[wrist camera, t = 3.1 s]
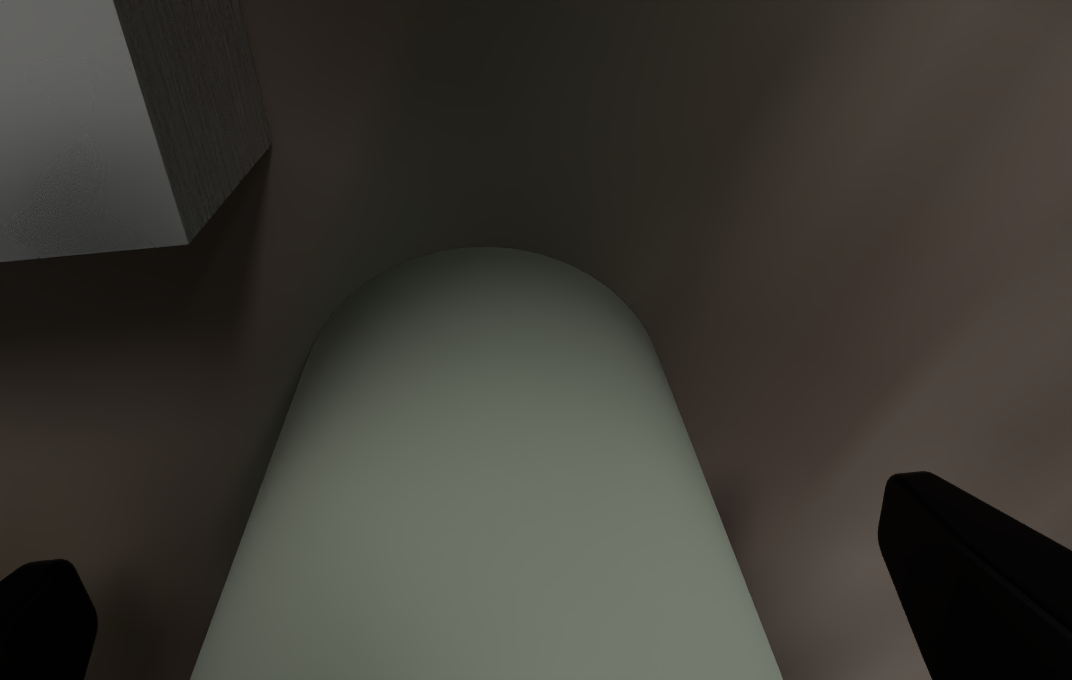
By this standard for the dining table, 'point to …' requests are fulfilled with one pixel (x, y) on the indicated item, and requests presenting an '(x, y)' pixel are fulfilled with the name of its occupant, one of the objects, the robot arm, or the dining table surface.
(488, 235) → the dining table surface
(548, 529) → the spout can
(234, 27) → the grey board with frame
